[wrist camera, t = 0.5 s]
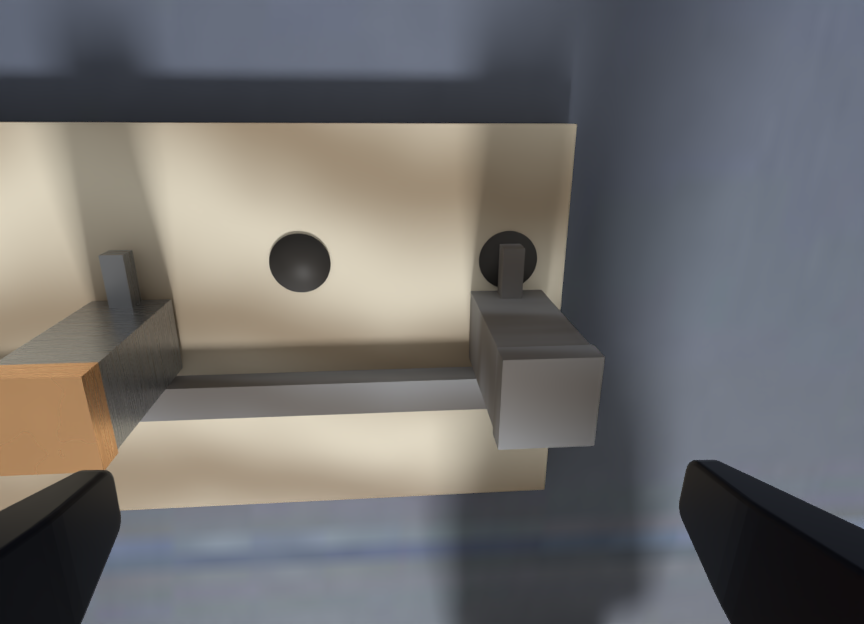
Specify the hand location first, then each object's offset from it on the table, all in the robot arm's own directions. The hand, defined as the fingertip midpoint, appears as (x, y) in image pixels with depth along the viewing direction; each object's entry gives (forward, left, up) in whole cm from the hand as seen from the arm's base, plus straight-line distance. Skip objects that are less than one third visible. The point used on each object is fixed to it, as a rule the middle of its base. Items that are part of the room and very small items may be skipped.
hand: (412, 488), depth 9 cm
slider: (-1, +9, -11) cm, 14 cm away
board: (-2, +7, -12) cm, 14 cm away
